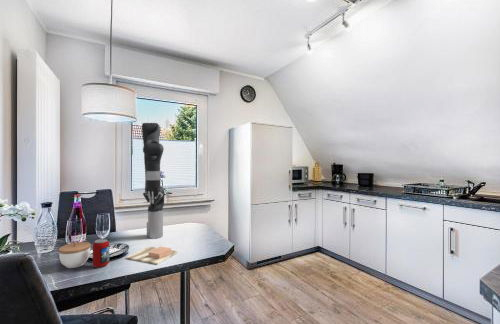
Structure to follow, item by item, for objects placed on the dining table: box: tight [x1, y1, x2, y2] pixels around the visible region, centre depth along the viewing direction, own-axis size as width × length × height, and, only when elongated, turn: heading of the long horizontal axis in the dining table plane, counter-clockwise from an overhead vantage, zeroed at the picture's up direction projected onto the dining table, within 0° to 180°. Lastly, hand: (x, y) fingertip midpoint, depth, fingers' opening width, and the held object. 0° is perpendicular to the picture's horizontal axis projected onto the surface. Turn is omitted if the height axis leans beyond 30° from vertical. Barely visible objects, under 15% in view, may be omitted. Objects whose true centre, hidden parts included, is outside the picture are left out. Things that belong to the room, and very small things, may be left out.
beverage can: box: [92, 238, 110, 268], centre depth 116 cm, size 7×7×12 cm
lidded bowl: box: [58, 241, 92, 269], centre depth 117 cm, size 13×13×11 cm
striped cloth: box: [125, 246, 179, 266], centre depth 128 cm, size 20×16×1 cm
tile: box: [149, 245, 172, 259], centre depth 128 cm, size 9×2×7 cm
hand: (153, 209), depth 135 cm, fingers closed
